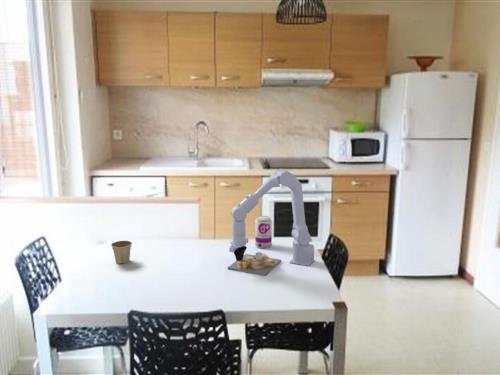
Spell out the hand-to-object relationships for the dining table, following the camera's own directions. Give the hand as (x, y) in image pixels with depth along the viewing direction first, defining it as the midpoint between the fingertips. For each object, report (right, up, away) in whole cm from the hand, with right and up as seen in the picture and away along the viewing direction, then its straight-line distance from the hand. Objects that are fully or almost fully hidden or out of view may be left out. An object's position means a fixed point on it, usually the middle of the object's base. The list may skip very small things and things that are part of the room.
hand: (239, 262), depth 192 cm
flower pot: (-54, -1, +8) cm, 55 cm away
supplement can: (+12, +3, +27) cm, 29 cm away
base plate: (+7, -2, +2) cm, 7 cm away
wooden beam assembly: (+6, -1, 0) cm, 7 cm away
